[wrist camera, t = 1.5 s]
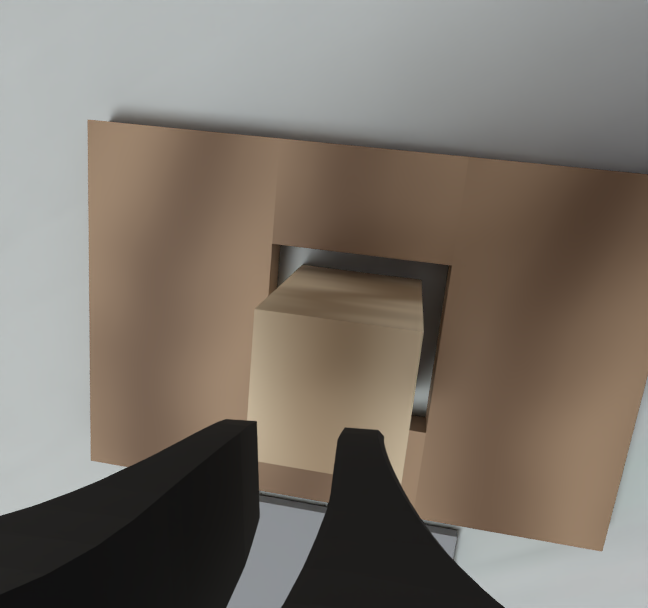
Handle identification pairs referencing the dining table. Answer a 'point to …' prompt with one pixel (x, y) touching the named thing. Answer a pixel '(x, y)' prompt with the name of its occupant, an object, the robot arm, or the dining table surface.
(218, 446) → the robot arm
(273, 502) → the slate rubber mat
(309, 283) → the beech block
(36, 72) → the dining table surface
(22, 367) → the dining table surface
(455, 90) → the dining table surface
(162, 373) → the walnut pocket board
